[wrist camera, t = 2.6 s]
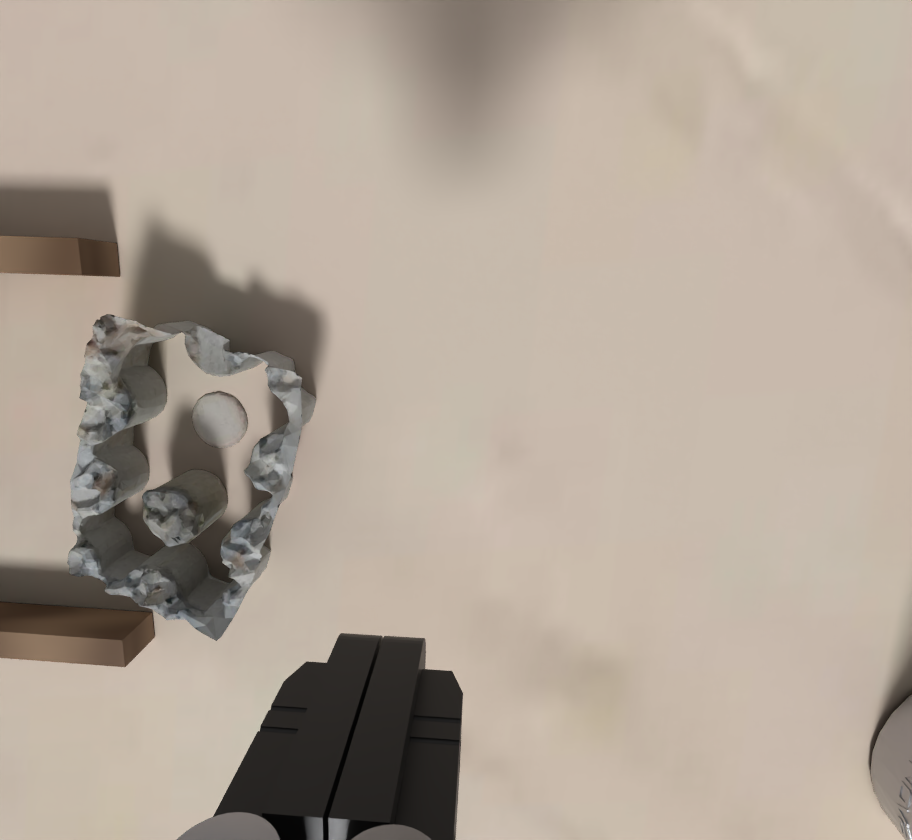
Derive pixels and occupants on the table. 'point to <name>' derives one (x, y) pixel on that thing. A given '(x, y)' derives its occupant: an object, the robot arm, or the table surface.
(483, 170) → the table surface
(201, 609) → the egg carton
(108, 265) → the display stand
